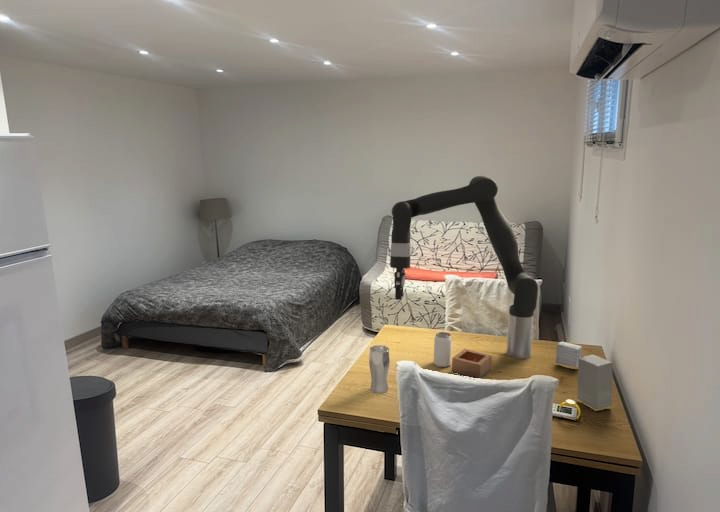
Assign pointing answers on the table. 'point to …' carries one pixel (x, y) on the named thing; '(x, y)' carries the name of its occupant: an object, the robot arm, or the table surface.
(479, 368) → the box
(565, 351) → the medicine box
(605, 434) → the table surface
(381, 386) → the beer glass
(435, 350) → the can
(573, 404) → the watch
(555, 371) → the table surface
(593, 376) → the skincare box
